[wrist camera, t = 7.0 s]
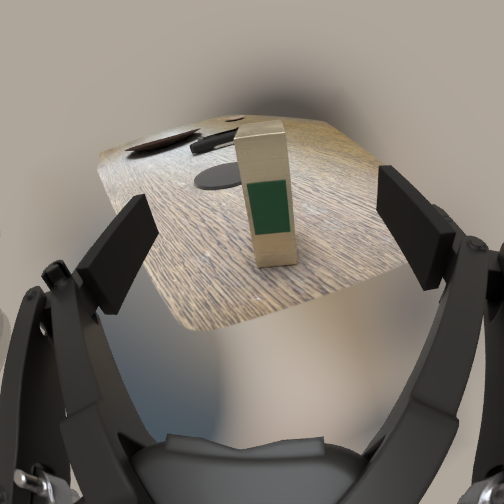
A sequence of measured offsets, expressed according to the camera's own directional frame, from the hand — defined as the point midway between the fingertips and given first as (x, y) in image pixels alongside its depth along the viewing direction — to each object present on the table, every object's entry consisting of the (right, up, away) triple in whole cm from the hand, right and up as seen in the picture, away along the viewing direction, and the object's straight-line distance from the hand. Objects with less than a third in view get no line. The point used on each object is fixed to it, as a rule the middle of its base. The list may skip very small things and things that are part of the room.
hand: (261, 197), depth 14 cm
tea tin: (+2, -2, +15) cm, 16 cm away
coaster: (-5, +11, +35) cm, 38 cm away
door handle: (-10, +28, +59) cm, 67 cm away
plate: (-32, +35, +74) cm, 88 cm away
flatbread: (-8, +53, +91) cm, 106 cm away
